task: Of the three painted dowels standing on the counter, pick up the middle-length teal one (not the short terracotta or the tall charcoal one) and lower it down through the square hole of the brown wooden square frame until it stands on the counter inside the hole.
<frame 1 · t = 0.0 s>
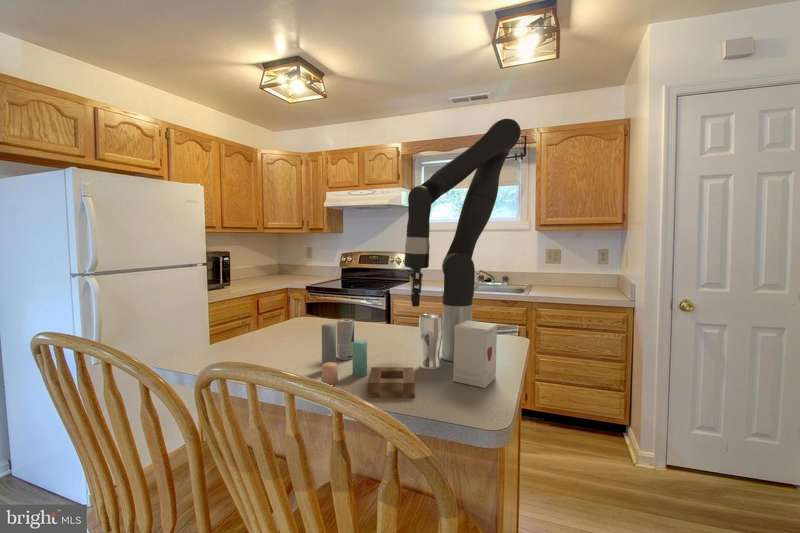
hand: (415, 304, 118), 17 cm above the countertop, tool pointing down, fingers open, 8 cm apart
long dowel: (329, 370, 108), on the countertop
supplement box: (475, 380, 101), on the countertop
beer glass: (430, 367, 112), on the countertop
brown wooden square frame: (391, 388, 95), on the countertop
medium dowel: (359, 374, 105), on the countertop
short dowel: (329, 383, 98), on the countertop
energy drink: (345, 358, 120), on the countertop
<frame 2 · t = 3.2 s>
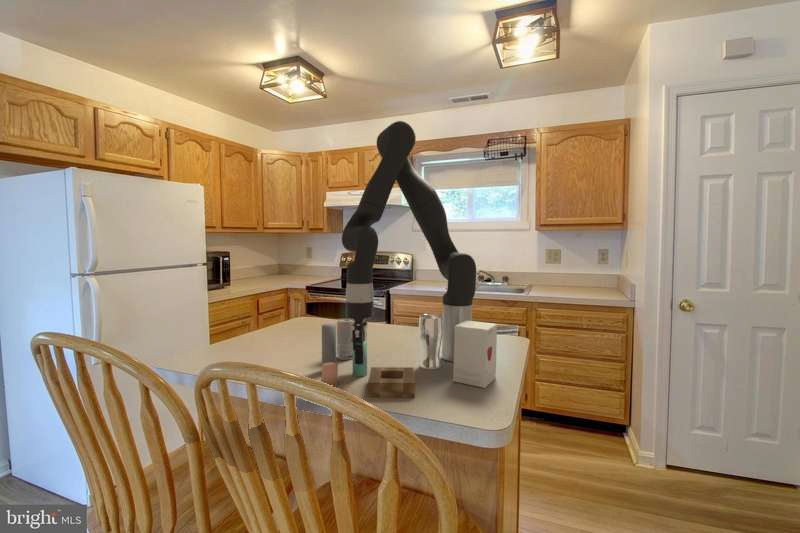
hand: (359, 360, 104), 4 cm above the countertop, tool pointing down, fingers closed on medium dowel, 4 cm apart
medium dowel: (359, 374, 105), on the countertop, touching gripper
everything else where it was.
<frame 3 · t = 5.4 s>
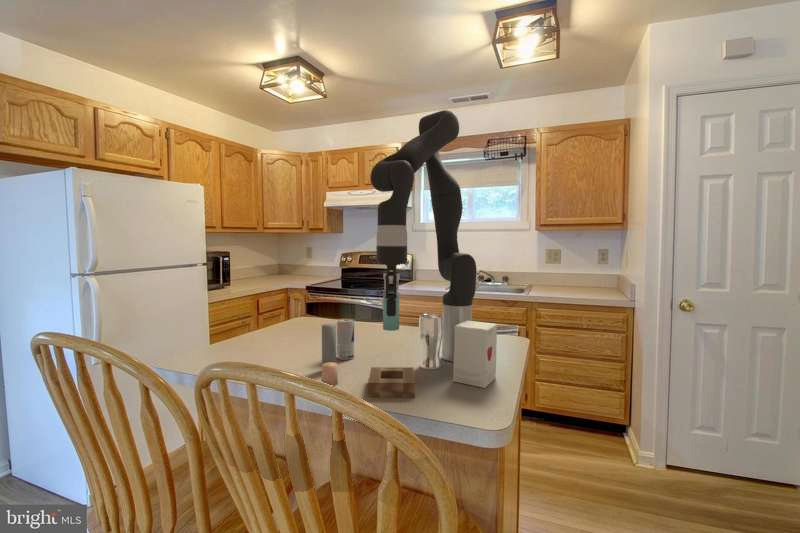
hand: (391, 313, 94), 19 cm above the countertop, tool pointing down, fingers closed on medium dowel, 4 cm apart
medium dowel: (391, 328, 94), point 15 cm above the countertop, touching gripper
everything else where it was.
when the fingers open (5 cm above the countertop, at t = 7.6 s): medium dowel stays where it is, resting in brown wooden square frame.
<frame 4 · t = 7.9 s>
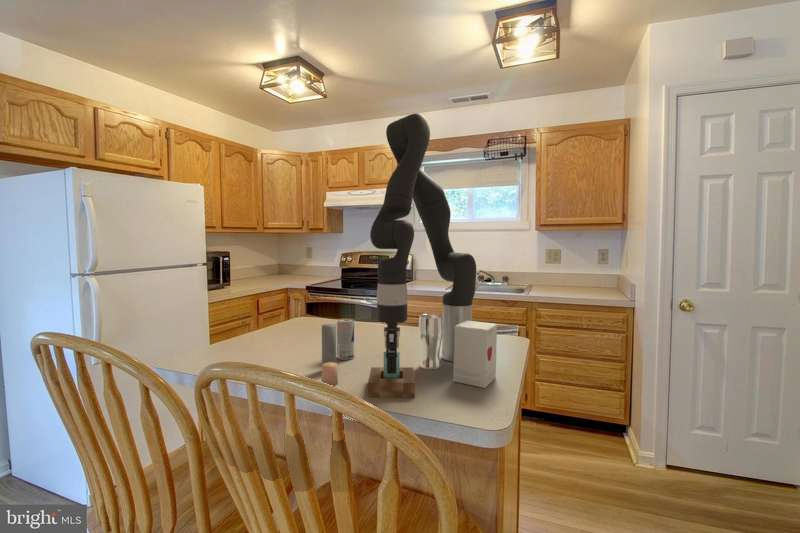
hand: (391, 368, 94), 5 cm above the countertop, tool pointing down, fingers open, 6 cm apart
medium dowel: (391, 388, 95), resting in brown wooden square frame
everything else where it was.
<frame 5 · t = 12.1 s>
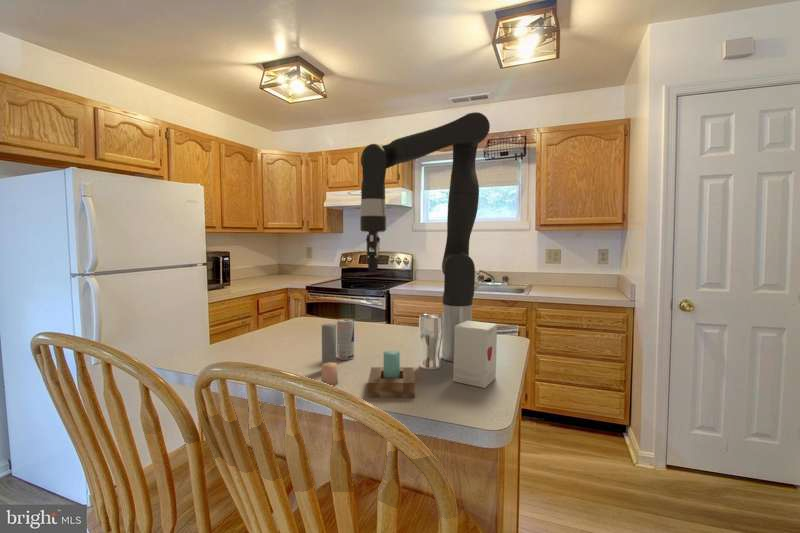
hand: (373, 270, 113), 28 cm above the countertop, tool pointing down, fingers open, 8 cm apart
nothing on the countertop moved.
at the end: medium dowel 0.1 cm off-centre on the brown wooden square frame, point 0.0 cm above the brown wooden square frame's base; medium dowel tilted 0°; the gripper is holding nothing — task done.
